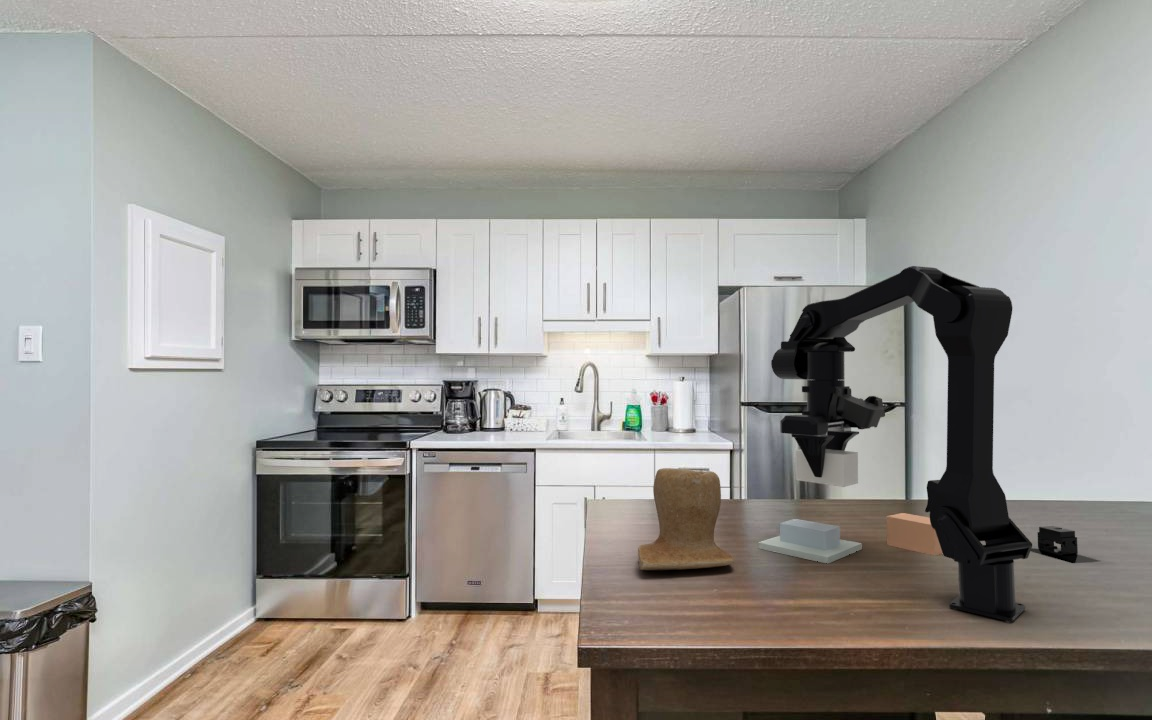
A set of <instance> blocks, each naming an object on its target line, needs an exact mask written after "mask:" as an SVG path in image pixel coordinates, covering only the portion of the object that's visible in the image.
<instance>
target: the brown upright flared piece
mask: <svg viewBox="0 0 1152 720" xmlns="http://www.w3.org/2000/svg"><path fill="white" fill-rule="evenodd" d="M654 476H655V478H654V481H653V482H654V483H653V487H652V488H653V490H652V491H653V493H652V494H653V500H654V504H655V508H656V513H657V520H658V526H659V535H658V537H657V538H656V539H655V540H654V541H652V542H650V543H644V544H641V545H639V546H638V547H637V556H638V560H639V561H638V565H639V566H638V567H639V568H640V570H641V571H675V570H677V571H680V570H681V571H682V570H696V569H706V568H707V569H708V568H717V567H723V566H730V565H732V564H734V563H735V559H734V557H733V556H732V555H731V554H730V553H729V552H727V551H726V550H724V549H722V548H720V547H719V546H718V545H717V544H716V542H715V529H716V524H717V519H718V518H719V514H720V511H721V510H720V508H721V504H722V494H721V493H722V490H721V481H720V478H719V476H718V474H717V473H716V472H714V471H711V470H710V471H709V470H707V471H703V470H702V471H699V470H697V471H696V470H694V469H693V470H692V469H690V468H689V469H688V468H687V469H686V468H671V467H668V468H667V467H664V468H660V469H658V470H657V471H656V474H655V475H654Z"/></svg>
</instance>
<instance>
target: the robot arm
mask: <svg viewBox="0 0 1152 720" xmlns="http://www.w3.org/2000/svg"><path fill="white" fill-rule="evenodd" d="M911 303H914V304H915V305H916V306H917V307H918V308H919V309H920V310H922V311H924V312H925V313H927V314H928V315H931V316H932V319H933V326H934V332H935V337H936V338H937V340H938V343H939V344H940V345H941V348H942V349H943V351H944V353H945V354H946V358H947V398H946V399H947V400H946V401H947V406H946V407H947V411H946V413H947V414H946V415H947V416H946V427H947V428H946V465H945V466H946V467H945V470H944V472H943V473H942V476H941V477H940V479H932V480H928V481H927V484H926V493H927V502H926V503H927V504H926V506H925V510H924V512H925V513H929V518H930V523H931V526H932V528H933V529H935V531H936V534H937V537H938V540H939V543H940V546H941V549H942V552H943V557H945V558H948V559H952V560H953V562H956V563H957V567H958V568H957V569H958V591H959V592H958V596H956V597H955V598H954V599H953V600H951V601H950V602H949V603H948V605H949V608H952V609H955V610H959V611H964V612H969V613H973V614H976V615H980V616H985V617H989V618H993V619H996V620H997V619H998V620H1002V621H1006V622H1013V621H1015V620H1016V619H1017V617H1019V615H1021V614H1022V613H1023V612H1024V611H1025V610H1026V605H1025V604H1024V603H1020V602H1016V587H1015V586H1016V584H1015V581H1016V580H1015V560H1020V559H1021V560H1027V559H1028V558H1029V556H1030V553H1031V548H1032V546H1033V543H1032V542H1031V540H1030V539H1029V538H1028V537H1027V536H1026V535H1025V533H1024V532H1023V531H1022V530H1021V529H1020V528H1019V527H1018V526H1017V524H1015V522H1014V521H1013V520H1012V519H1011V517H1010V516H1009V510H1008V505H1007V497H1006V494H1005V492H1004V490H1003V489H1002V486H1001V485H1000V483H999V480H998V479H997V478H996V476H995V474H994V469H993V468H994V467H993V466H994V465H993V463H994V462H993V461H994V406H995V404H994V403H995V392H994V391H995V359H996V356H997V354H998V353H999V351H1000V349H1001V347H1002V345H1003V344H1004V342H1005V340H1006V339H1007V337H1008V335H1009V330H1010V327H1011V325H1010V324H1011V321H1012V320H1011V319H1012V315H1013V302H1012V300H1011V298H1010V296H1008V295H1007V294H1006V293H1004V292H1003V291H1002V290H1000V289H999V288H996V287H985V286H984V287H983V286H982V287H981V286H978V285H977V284H974V283H971V282H969V281H966V280H963V279H960V278H957V277H955V276H952V275H949V274H947V273H946V272H943V271H941V270H940V269H938V268H936V267H931V266H921V265H919V266H917V265H911V266H908V267H906V268H904V269H902V270H901V271H900V272H899V273H896V274H894V275H892V276H889V277H888V278H885V279H883V280H881V281H879V282H877V283H874V284H871V285H870V286H867V287H866V288H862V289H861V290H858V291H857V292H854V293H853V294H850V295H848V296H845V297H842V298H837V299H828V300H821V301H817V302H812V303H808V304H807V305H805V306H804V307H803V308H802V310H801V311H802V312H801V314H800V316H799V317H798V320H797V322H796V324H795V326H794V328H793V331H792V332H791V333H790V335H789V339H788V340H787V341H783V340H782V341H781V342H780V347H779V349H777V350H776V351H775V352H774V354H773V356H772V359H771V363H770V365H771V369H772V373H774V375H775V376H776V377H777V378H779V379H783V380H806V385H802V386H801V393H806V395H807V396H806V405H807V406H806V408H807V409H806V410H802V412H801V414H788V415H784V416H783V418H782V419H781V420H780V421H779V422H780V424H779V425H780V426H779V427H780V432H779V433H780V434H786V435H787V434H790V436H791V438H794V440H795V441H796V443H797V445H798V446H799V449H801V450H802V452H803V454H804V456H805V458H806V460H807V462H808V464H809V466H810V468H811V470H812V472H813V474H814V476H815V477H819V478H820V477H822V474H823V468H824V459H825V449H831V450H841V451H846V448H847V446H848V443H849V442H850V440H852V439H853V438H854V437H856V436H858V435H859V434H860V431H857V430H866V429H867V430H868V429H871V428H873V427H874V429H875V428H877V427H878V425H879V422H880V420H881V419H882V418H884V417H885V416H886V412H885V409H886V407H884V405H883V398H881V397H878V396H876V395H869V396H868V397H866V398H865V399H864V398H858V397H854V396H853V395H852V388H850V386H849V385H848V386H846V385H845V379H846V378H845V353H850V352H851V353H852V352H855V350H856V348H855V347H854V345H853V344H852V343H850V342H848V341H847V340H848V339H846V337H848V336H849V335H850V334H852V333H854V332H855V331H857V330H858V328H859V326H860V325H861V324H862V323H864V322H866V321H867V320H870V319H873V318H875V317H878V316H881V315H883V314H886V313H887V312H890V311H894V310H896V309H898V308H902V307H904V306H907V305H909V304H911ZM852 428H853V429H854V428H857V430H856V431H854V430H852ZM982 542H985V544H982Z"/></svg>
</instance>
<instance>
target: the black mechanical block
mask: <svg viewBox="0 0 1152 720" xmlns="http://www.w3.org/2000/svg"><path fill="white" fill-rule="evenodd" d="M1055 544H1057V545H1060V547H1058V546H1057V545H1055ZM1030 553H1035V554H1038V555H1042V556H1046V557H1050V558H1053V559H1056V560H1059V561H1063V562H1066V563H1070V564H1083V563H1096V562H1097V563H1098V562H1101V560H1100V559H1099V560H1098V559H1096V558H1092V557H1089V556H1085V555H1082V554H1081V555H1080V554H1078V553H1079V551H1078V537H1076V531H1075V530H1072V529H1068V528H1063V527H1059V526H1056V525H1055V526H1054V525H1047V526H1039V527H1038V531H1037V545H1032V548H1031V551H1030Z"/></svg>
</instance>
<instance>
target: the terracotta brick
mask: <svg viewBox="0 0 1152 720" xmlns="http://www.w3.org/2000/svg"><path fill="white" fill-rule="evenodd" d="M886 539H887V540H886V544H887V546H890V547H895V548H899V549H904V550H908V551H912V552H917V553H922V554H925V553H926V554H927V555H930V554H931V555H930V556H934V555H936V556H939V554H940V555H942V553H943V552H942V549H941V546H940V543H939V540H938V537H937V534H936V531H935V529H933V528H932V526H931V523H930V516H929V517H928V516H922V515H915V514H912V513H904V512H900V513H896V514H891V515H886Z"/></svg>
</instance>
